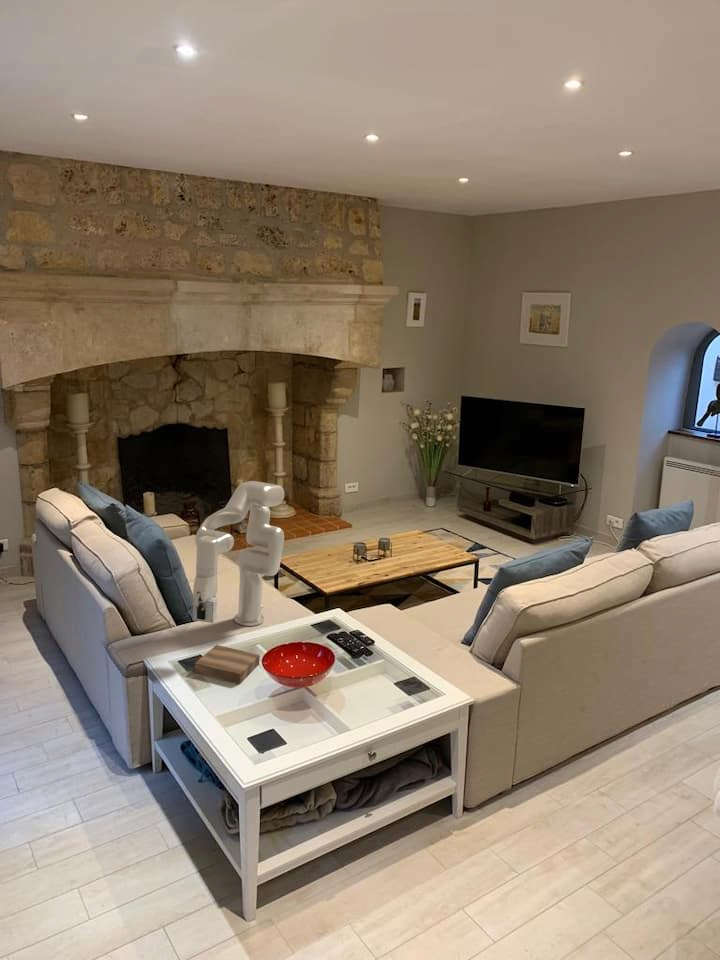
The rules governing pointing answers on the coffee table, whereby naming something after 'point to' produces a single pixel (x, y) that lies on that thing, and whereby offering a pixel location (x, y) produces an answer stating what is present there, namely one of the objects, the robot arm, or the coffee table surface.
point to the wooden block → (227, 664)
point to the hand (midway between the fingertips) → (205, 615)
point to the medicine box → (207, 611)
